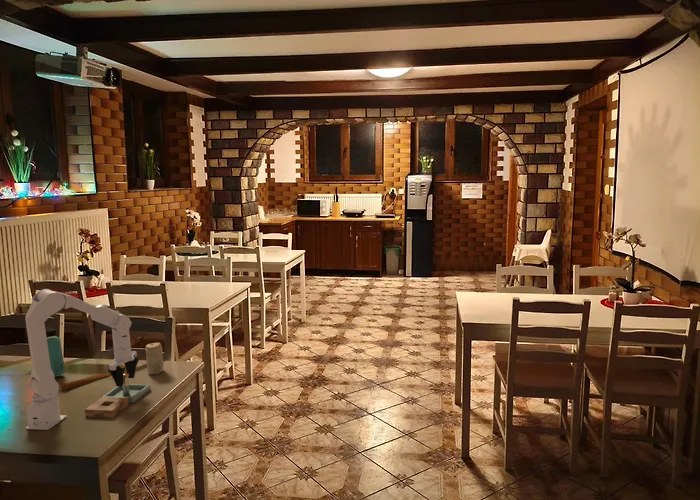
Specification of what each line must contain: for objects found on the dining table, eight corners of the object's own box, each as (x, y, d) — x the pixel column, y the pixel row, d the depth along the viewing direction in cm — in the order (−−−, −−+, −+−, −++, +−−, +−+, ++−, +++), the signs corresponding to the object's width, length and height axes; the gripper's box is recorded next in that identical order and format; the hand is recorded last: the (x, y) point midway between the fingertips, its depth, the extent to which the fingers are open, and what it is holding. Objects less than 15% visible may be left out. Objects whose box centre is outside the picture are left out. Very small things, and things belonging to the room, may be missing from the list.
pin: (128, 396, 195) (125, 375, 194) (120, 396, 196) (118, 375, 195) (132, 393, 198) (130, 372, 197) (124, 393, 199) (122, 372, 198)
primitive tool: (105, 374, 221) (104, 365, 221) (113, 376, 219) (112, 368, 218) (59, 391, 205) (58, 382, 205) (68, 393, 202) (67, 385, 202)
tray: (133, 403, 191) (132, 398, 190) (102, 402, 193) (101, 397, 192) (150, 389, 202) (150, 384, 202) (121, 388, 204) (120, 383, 204)
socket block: (112, 417, 180) (111, 410, 180) (85, 416, 182) (84, 409, 181) (129, 404, 190) (128, 397, 190) (103, 403, 191) (102, 397, 191)
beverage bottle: (64, 378, 216) (59, 330, 213) (45, 381, 214) (39, 333, 211) (66, 373, 222) (61, 326, 219) (48, 375, 220) (42, 328, 217)
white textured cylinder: (145, 376, 216) (142, 347, 214) (150, 369, 224) (147, 341, 222) (161, 375, 217) (158, 346, 215) (166, 368, 224) (163, 340, 222)
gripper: (121, 353, 187) (124, 390, 189) (142, 340, 201) (146, 374, 203) (102, 352, 188) (106, 389, 190) (125, 339, 202) (128, 374, 204)
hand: (125, 381), depth 197 cm, fingers open, 7 cm apart
